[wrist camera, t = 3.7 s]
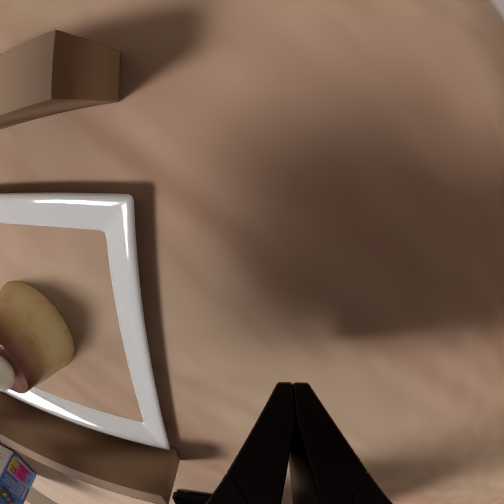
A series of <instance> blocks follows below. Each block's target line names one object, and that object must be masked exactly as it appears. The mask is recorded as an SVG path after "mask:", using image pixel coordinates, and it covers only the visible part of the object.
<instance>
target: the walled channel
mask: <svg viewBox="0 0 504 504" xmlns="http://www.w3.org/2000/svg"><path fill="white" fill-rule="evenodd" d="M119 72H120V51H118V50H115V49H112V48H110V47H107V46H104V45H101V44H98V43H96V42H93V41H90V40H87V39H84V38H81V37H78V36H74V35H71V34H68V33H65V32H61V31H58V30H54V31H51V32H49V33H46V34H44V35H41V36H39V37H37V38H34V39H32V40H30V41H28V42H25V43H23V44H21V45H19V46H17V47H15V48H13V49H11V50H9V51H7V52H5V53H3V54H1V55H0V129H3V128H6V127H9V126H13V125H16V124H19V123H23V122H26V121H30V120H34V119H37V118H41V117H45V116H49V115H53V114H57V113H62V112H66V111H71V110H76V109H81V108H86V107H91V106H96V105H102V104H108V103H115V102H119ZM0 441H1V442H2V443H4V444H6V445H7V446H9V447H11V448H13V449H15V450H16V451H18V452H20V453H22V454H24V455H26V456H28V457H30V458H31V459H33V460H35V461H37V462H40V463H42V464H44V465H46V466H48V467H50V468H52V469H55V470H57V471H59V472H61V473H64V474H66V475H68V476H71V477H73V478H76V479H78V480H81V481H84V482H86V483H89V484H92V485H94V486H97V487H100V488H103V489H106V490H109V491H112V492H115V493H119V494H122V495H125V496H129V497H132V498H136V499H140V500H143V501H147V502H152V503H156V504H169V500H170V496H171V492H172V488H173V484H174V481H175V477H176V473H177V469H178V465H179V458H178V455H177V452H176V449H175V448H174V447H170V449H169V450H167V449H162V448H157V447H153V446H149V445H145V444H141V443H137V442H133V441H129V440H126V439H122V438H119V437H115V436H112V435H108V434H105V433H102V432H99V431H96V430H93V429H90V428H87V427H84V426H81V425H78V424H76V423H73V422H70V421H68V420H65V419H62V418H60V417H57V416H55V415H52V414H50V413H47V412H45V411H42V410H40V409H37V408H35V407H32V406H30V405H28V404H25V403H23V402H21V401H19V400H16V399H14V398H12V397H10V396H8V395H6V394H4V393H2V392H0Z"/></svg>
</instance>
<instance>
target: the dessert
mask: <svg viewBox="0 0 504 504" xmlns="http://www.w3.org/2000/svg"><path fill="white" fill-rule="evenodd" d="M0 223H10V224H24V225H38V226H52V227H66V228H79V229H92V230H101V231H103V232H104V233H105V235H106V240H107V249H108V257H109V265H110V272H111V279H112V286H113V292H114V298H115V304H116V310H117V315H118V320H119V325H120V330H121V335H122V340H123V345H124V349H125V354H126V358H127V362H128V366H129V370H130V374H131V378H132V382H133V386H134V390H135V393H136V397H137V400H138V404H139V407H140V411H141V414H142V417H143V420H144V421H143V422H137V421H133V420H130V419H126V418H122V417H118V416H115V415H111V414H108V413H104V412H101V411H98V410H94V409H91V408H88V407H85V406H82V405H79V404H76V403H73V402H70V401H68V400H65V399H62V398H59V397H57V396H54V395H51V394H49V393H46V392H44V391H41V390H39V389H37V388H34V387H36V386H37V385H39V384H40V383H41V382H43V381H44V380H46V379H47V378H49V377H50V376H51V375H53V374H54V373H56V372H57V371H59V370H60V369H62V368H63V367H65V366H67V365H68V364H69V363H70V362H71V361H72V359H73V357H74V343H73V339H72V336H71V333H70V331H69V329H68V326H67V325H66V323H65V321H64V319H63V318H62V316H61V315H60V313H59V312H58V311H57V309H56V308H55V307H54V306H53V304H52V303H51V302H50V301H49V300H48V299H47V298H46V297H45V296H44V295H43V294H41V293H40V292H39V291H38V290H36V289H35V288H33V287H32V286H30V285H28V284H26V283H24V282H20V281H10V282H7V283H6V284H5V285H4V286H3V287H2V289H1V290H0V391H3V392H5V393H7V394H9V395H11V396H13V397H15V398H17V399H19V400H21V401H23V402H25V403H27V404H30V405H32V406H34V407H36V408H38V409H41V410H43V411H45V412H48V413H50V414H52V415H55V416H57V417H60V418H62V419H65V420H68V421H70V422H73V423H76V424H78V425H81V426H84V427H87V428H90V429H93V430H96V431H99V432H102V433H105V434H108V435H112V436H115V437H119V438H122V439H126V440H129V441H133V442H137V443H141V444H145V445H149V446H153V447H157V448H162V449H167V450H169V449H170V446H169V443H168V439H167V435H166V431H165V427H164V422H163V418H162V414H161V409H160V405H159V400H158V395H157V391H156V386H155V381H154V375H153V370H152V365H151V359H150V353H149V347H148V341H147V334H146V328H145V321H144V313H143V306H142V298H141V289H140V280H139V270H138V259H137V247H136V233H135V215H134V199H133V197H132V196H131V195H129V194H110V193H0Z"/></svg>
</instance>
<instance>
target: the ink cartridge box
mask: <svg viewBox="0 0 504 504" xmlns="http://www.w3.org/2000/svg"><path fill="white" fill-rule="evenodd" d="M35 477H36V474H35V473H34V472H33V471H32V470H31V469H30V468H29V467H28V466H27V465H26V464H25V463H24V462H23V461H22V460H21V458H20V457H19V456H18V455H17V454H16V453H14V452H13V451H11V450H9V449H7V448H6V447H4V446H2V445H0V504H24V501H25V499H26V497H27V494H28V492H29V490H30V488H31V486H32V483H33V481H34V479H35Z"/></svg>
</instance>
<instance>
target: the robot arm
mask: <svg viewBox="0 0 504 504" xmlns="http://www.w3.org/2000/svg"><path fill="white" fill-rule="evenodd" d="M288 462H289V467H290V476H291V486H292V496H293V504H392V502H391V501H390V500H389V499H388V498H387V497H386V496H385V494H384V493H383V492H382V490H381V489H380V488H379V486H378V485H377V484H376V482H375V481H374V479H373V478H372V477H371V475H370V474H369V473H366V472H367V470H366V468H365V467H364V465H363V464H362V462H361V461H360V459H359V458H358V456H357V455H356V454H355V452H354V451H353V449H352V448H351V446H350V445H349V443H348V442H347V440H346V439H345V437H344V436H343V434H342V433H341V431H340V430H339V429H338V427H337V426H336V424H335V423H334V421H333V420H332V418H331V417H330V415H329V414H328V412H327V411H326V409H325V408H324V406H323V405H322V403H321V402H320V400H319V399H318V397H317V396H316V394H315V393H314V391H313V390H312V388H311V386H310V385H309V384H308V383H298V382H295V383H293V384H292V383H291V382H278V383H277V384H276V386H275V388H274V390H273V392H272V394H271V396H270V398H269V399H268V401H267V403H266V405H265V407H264V409H263V411H262V412H261V414H260V416H259V418H258V420H257V422H256V423H255V425H254V427H253V429H252V430H251V432H250V434H249V436H248V438H247V439H246V441H245V443H244V444H243V446H242V448H241V450H240V451H239V453H238V455H237V456H236V458H235V460H234V461H233V463H232V465H231V466H230V468H229V470H228V471H227V474H225V476H224V478H223V479H222V481H221V482H220V484H219V485H218V487H217V488H216V490H215V491H214V493H213V494H212V496H211V497H206V496H199V495H193V494H187V493H181V492H174V493H173V497H172V498H173V500H174V502H175V504H281V501H282V495H283V490H284V485H285V479H286V473H287V468H288Z"/></svg>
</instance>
